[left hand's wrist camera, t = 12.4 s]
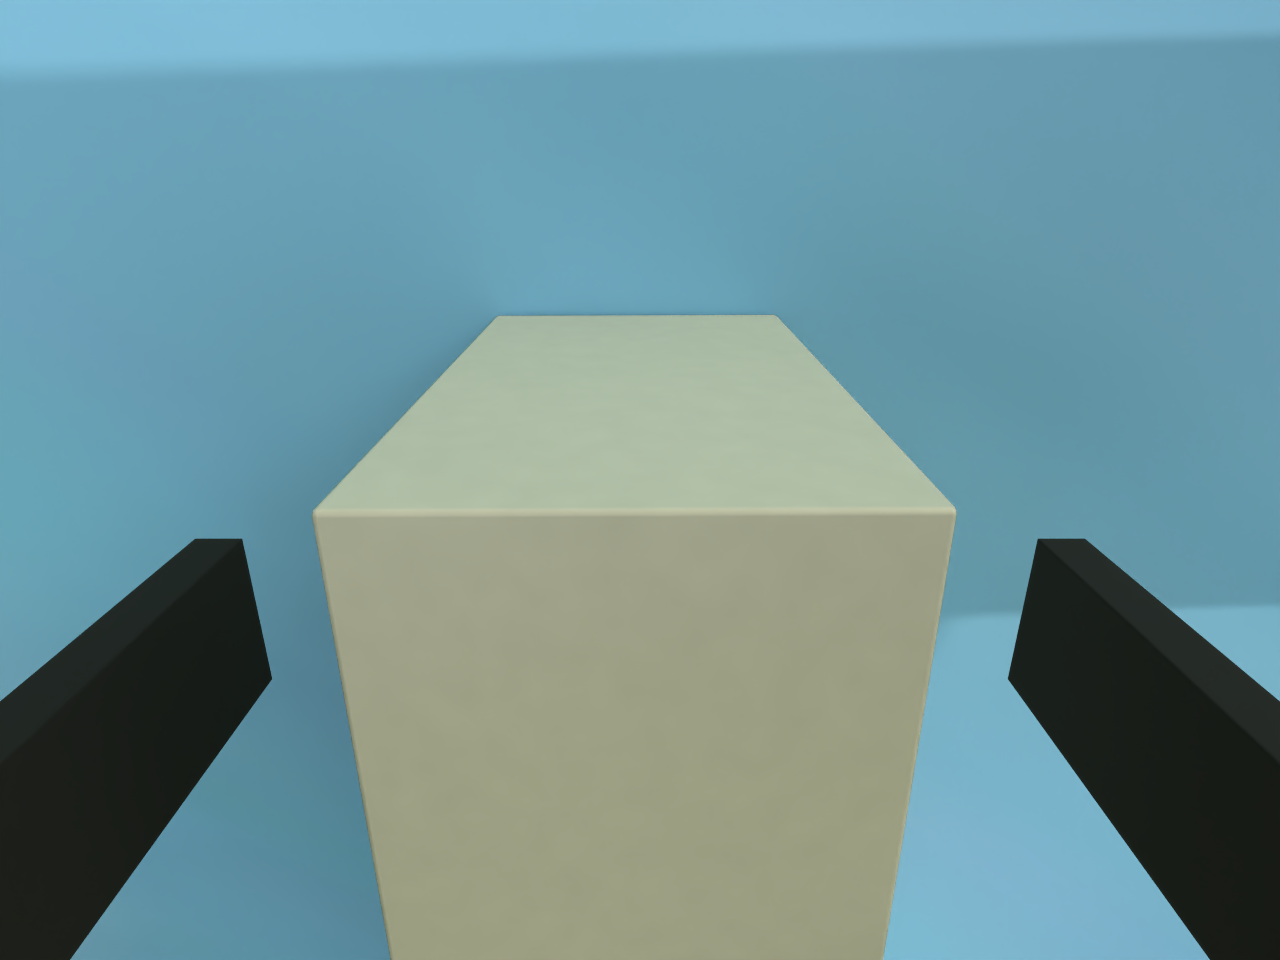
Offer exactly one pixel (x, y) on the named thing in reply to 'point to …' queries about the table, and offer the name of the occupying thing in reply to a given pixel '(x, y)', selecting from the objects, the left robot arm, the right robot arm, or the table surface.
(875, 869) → the bar
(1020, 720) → the table surface
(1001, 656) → the table surface
